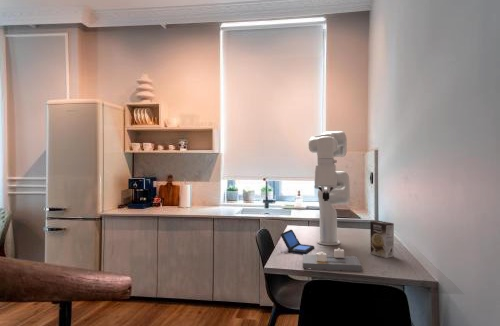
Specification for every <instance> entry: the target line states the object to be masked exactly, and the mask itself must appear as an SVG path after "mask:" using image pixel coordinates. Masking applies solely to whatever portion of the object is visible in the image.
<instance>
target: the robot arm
mask: <svg viewBox="0 0 500 326" xmlns="http://www.w3.org/2000/svg"><path fill="white" fill-rule="evenodd" d="M347 142H348V140H347V135H346V133H345V132H344V131H342V130H339V131H338V130H336V131H324V132H323V133H321V134H319V135H313V136H311V137H310V139H309V140H308V149H309V152H311V153H312V154H313V153H315V154H316V157H317V165H315V170H314V189H316V190H317V198H318V206H319V207H318V208H319V238H318V239H316V242H317V243H318V244H319V245H322V246H338V245H340V244H341V242H340V240H339V239H338V213H337V210H336V208H335V207H334V205H347V204H349V203H350V201H351V190H350V186H351V185H350V175H349V174H348V172H347V171H343V170H342V171H341V170H340V171H339V170H337V167H336V164H337V162H338V161H337V160H336V159H335V158H343V157H346V155H347V152H348V151H347V150H348V148H347V147H348V143H347Z"/></svg>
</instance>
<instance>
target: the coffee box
mask: <svg viewBox="0 0 500 326" xmlns="http://www.w3.org/2000/svg"><path fill="white" fill-rule="evenodd" d="M369 223H370V230H369V231H370V234H369V235H370V255H375V256H378V257H381V258H385V259H388V258H391V257H394V256H395V255H394V251H395V249H394V245H395V244H394V241H395V239H394V233H395V232H394V227H395V226H394V225H395V224H394V222H388V221H383V220H373V221H372V220H371V221H370V222H369Z"/></svg>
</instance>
